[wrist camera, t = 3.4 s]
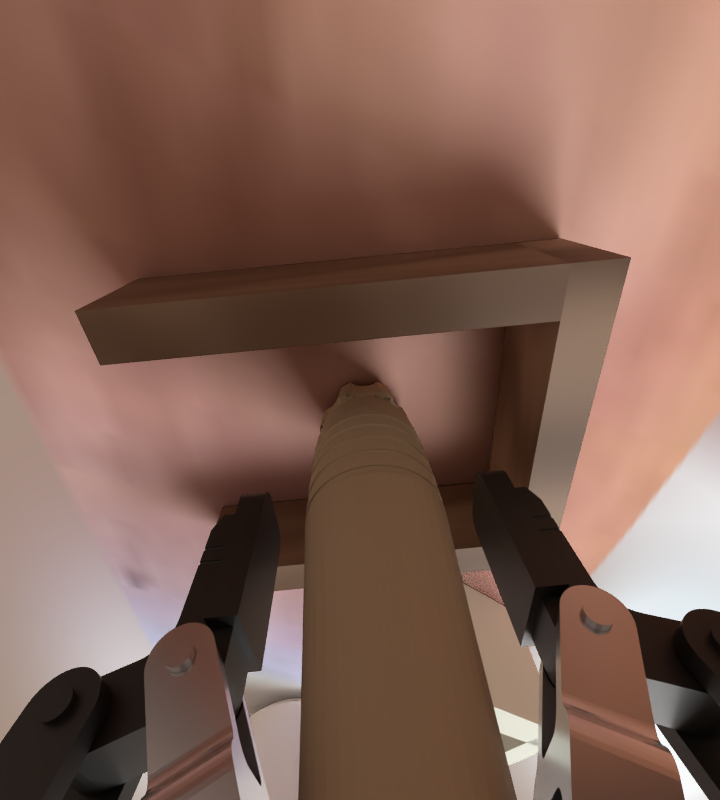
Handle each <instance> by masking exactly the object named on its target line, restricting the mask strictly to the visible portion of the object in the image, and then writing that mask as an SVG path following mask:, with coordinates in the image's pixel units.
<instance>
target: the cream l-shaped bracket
mask: <svg viewBox="0 0 720 800" xmlns="http://www.w3.org/2000/svg"><path fill="white" fill-rule="evenodd" d="M463 585H464V589H465V593H466V597H467V601H468V606H469V610H470V614H471V618H472V622H473V626H474V630H475V635H476V639H477V643H478V647H479V651H480V655H481V659H482V663H483V667H484V670H485V674H486V678H487V682H488V686H489V690H490V694H491V698H492V702H493V706H494V710H495V714H496V718H497V722H498V726H499V730H500V734H501V738H502V742H503V746H504V750H505V754H506V758H507V762H508V766H509V765H511V764H513V763H515V762H518V761H520V760H523V759H525V758H527V757H530V756H532V755H534V754H537V753H538V722H539V672H538V670H537V668H536V665H535V663H534V660H533V658H532V655H531V653H530V650H529V648H528V646H525V647H521V646H520V644H519V641H518V638H517V636H516V633H515V631H514V628H513V626H512V623H511V620H510V618H509V615H508V613H507V610H506V608H505V606H503V605H502V604H500V603H498V602H496V601H494V600H493V599H491V598H489V597H487V596H485V595H483V594H482V593H480V592H478V591H476V590H474V589H473V588H471V587H469V586H467V585H465V584H464V583H463Z"/></svg>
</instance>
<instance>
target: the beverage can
mask: <svg viewBox="0 0 720 800" xmlns="http://www.w3.org/2000/svg"><path fill="white" fill-rule="evenodd" d="M300 721H301V698H292V699H286V700H281V701H278V702H275V703H272V704H270V705H268V706H267V707H265V708H263V709H261V710H259V711H257V712H256V713H254V714H253V715H252V716H251V717H250V722H251V726H252V730H253V734H254V738H255V743H256V747H257V751H258V755H259V760H260V764H261V768H262V772H263V776H264V781H265V785H266V788H267V792H268V795H269V798H270V800H298V789H299V755H300Z"/></svg>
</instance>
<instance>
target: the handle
mask: <svg viewBox="0 0 720 800" xmlns="http://www.w3.org/2000/svg"><path fill="white" fill-rule="evenodd" d="M298 800H517V798H516V794H515V790H514V786H513V782H512V778H511V774H510V771H509V766H508V762H507V758H506V754H505V750H504V746H503V742H502V738H501V734H500V730H499V726H498V722H497V718H496V714H495V710H494V706H493V702H492V698H491V694H490V690H489V686H488V682H487V678H486V674H485V670H484V667H483V663H482V659H481V655H480V651H479V647H478V643H477V639H476V635H475V630H474V626H473V622H472V618H471V614H470V610H469V606H468V601H467V597H466V593H465V589H464V585H463V581H462V577H461V572H460V568H459V564H458V560H457V556H456V552H455V548H454V543H453V539H452V535H451V531H450V527H449V523H448V519H447V514H446V510H445V507H444V505H443V501H442V498H441V495H440V492H439V489H438V487H437V483H436V480H435V477H434V474H433V472H432V469H431V466H430V464H429V461H428V459H427V456H426V454H425V452H424V449H423V447H422V444H421V442H420V440H419V438H418V436H417V434H416V432H415V430H414V428H413V426H412V425H411V423H410V421H409V420H408V417H407V415H406V413H405V412H404V410H403V409H402V408H401V407H400V406H398V405H396V404H395V403H394V401H393V397H392V395H391V392H390V390H389V389H388V387H387V386H386V385H384V384H382V383H379V382H375V383H374V384H372V385H366V386H359V385H354V384H353V383H348V384H346V385H344V386H342V387H341V388H340V391H339V396H338V398H337V400H336V402H335V403H334V404H333V406H332V407H330V408H328V409H326V411H325V413H324V415H323V418H322V423H321V427H320V435H319V438H318V442H317V446H316V450H315V455H314V460H313V466H312V472H311V478H310V485H309V492H308V502H307V511H306V521H305V555H304V604H303V652H302V686H301V721H300V755H299V789H298Z"/></svg>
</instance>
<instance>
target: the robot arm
mask: <svg viewBox="0 0 720 800" xmlns="http://www.w3.org/2000/svg"><path fill="white" fill-rule="evenodd" d="M472 515H473V522H474V527H475V530H476V533H477V536H478V538H479V541H480V543H481V546H482V549H483V551H484V554H485V556H486V559H487V561H488V564H489V567H490V569H491V572H492V574H493V577H494V579H495V582H496V584H497V587H498V590H499V592H500V595H501V597H502V600H503V602H504V605H505V608H506V610H507V613H508V615H509V618H510V620H511V623H512V626H513V628H514V631H515V633H516V636H517V638H518V641H519V644H520V646H521V647H525V646H536V649H537V651H538V654H539V656H540V658H541V664H540V674H539V722H538V762H537V772H536V779H535V787H534V797H533V800H685V799H684V794H683V789H682V784H681V780H680V775H679V772H678V769H677V765H676V763H675V760H674V758H673V756H672V754H671V752H670V751H669V749H668V748H666V747H665V746H663V745H662V744H661V743H660V741H659V739H658V737H657V733H656V730H655V725H654V724H656V725H657V726H658V728H659V729H660V731H661V732H662V733H663V735H664V736H665V738H666V739H667V741H668V742H669V743H670V745H671V746H672V748H673V749H674V750H675V752H676V753H677V755H678V756H679V758H680V759H681V761H682V762H683V763H684V765H685V766H686V767H687V769H688V770H689V772H690V773H691V775H692V776H693V778H694V779H695V780H696V782H697V783H698V785H699V786H700V788H701V789H702V790H703V792H704V793H705V795H706V796H707V798H708V799H709V800H720V612H717V611H714V610H708V609H696V610H693V611H690V612H688V613H687V614H686V615H685V617H684V618H683V620H682V621H676V620H672V619H667V618H662V617H657V616H653V615H648V614H643V613H639V612H635V611H633V610H630V609H627V608H626V607H625V606H624V605H623V604H622V603H621V602H620V601H619V600H618V599H617V598H615V597H614V596H613V595H611V594H609V593H608V592H606V591H604V590H602V589H599V588H598V587H597V586H596V584H595V583H594V582H593V580H592V579H591V577H590V576H589V574H588V572H587V571H586V569H585V568H584V566H583V565H582V563H581V561H580V560H579V558H578V557H577V555H576V553H575V552H574V550H573V549H572V547H571V546H570V544H569V542H568V541H567V539H566V538H565V536H564V535H563V533H562V531H560V530H559V527H558V525H557V523H556V522H555V520H554V519H553V518H552V517H551V514H550V512H549V511H548V509H547V508H546V506H545V504H544V503H543V501H542V500H541V499H540V498H539V497H538V496H537V495H535V494H534V493H533V492H532V491H530V490H529V489H528V488H527V487H516V488H515V487H514V485H513V484H512V482H511V480H510V478H509V477H508V475H507V473H506V472H505V471H504V470H499V471H489V472H479V473H477V474H476V477H475V486H474V497H473V508H472ZM280 546H281V537H280V529H279V525H278V521H277V517H276V514H275V510H274V506H273V503H272V499H271V496H270V494H269V493H268V492H265V493H255V494H245V495H242V496H241V497H240V500H239V503H238V506H237V510H236V513H235V514H230V515H224V516H223V517H222V518H221V519H220V521H219V522H218V523H217V524H216V525H215V527H214V528H213V529H212V530H211V533H210V536H209V538H208V541H207V544H206V547H205V551H204V552H203V555H202V558H201V561H200V565H199V566H198V569H197V572H196V574H195V577H194V580H193V583H192V585H191V588H190V591H189V594H188V597H187V599H186V602H185V605H184V608H183V610H182V613H181V616H180V619H179V621H178V623H177V626H176V627H175V629H173V630H171V631H170V632H168V633H167V634H166V635H165V636H164V637H162V638H161V639H160V640H159V642H158V643H157V644H156V645H155V647H154V648H153V649H152V651H151V653H150V655H148V656H146V657H145V658H143V659H141V660H139V661H137V662H134V663H132V664H129V665H127V666H125V667H122V668H120V669H118V670H115V671H113V672H111V673H109V674H106V675H104V676H102V677H100V676H99V674H98V673H97V672H96V671H95V670H93V669H91V668H88V667H78V668H74V669H71V670H68V671H66V672H64V673H62V674H60V675H58V676H57V677H55V678H54V679H52V680H51V681H50V682H49V683H47V684H46V685H45V686H44V687H43V688H41V689H40V690H39V692H38V693H37V694H36V695H35V696H34V697H33V698H32V699H31V701H30V702H29V703H28V705H27V706H26V707H25V709H24V710H23V712H22V713H21V715H20V716H19V717H18V719H17V720H16V722H15V723H14V724H13V726H12V727H11V729H10V730H9V732H8V733H7V734H6V736H5V737H4V739H3V740H2V742H1V743H0V800H131V799H132V797H133V795H134V792H135V790H136V788H137V785H138V783H139V781H140V778H141V776H142V774H143V773H145V772H147V771H148V786H147V792H146V794H145V796H144V797H143V798H141V800H270V798H269V795H268V792H267V788H266V785H265V781H264V776H263V772H262V768H261V764H260V760H259V755H258V751H257V747H256V743H255V738H254V734H253V730H252V726H251V722H250V717H249V713H248V709H247V705H246V701H245V697H244V688H245V683H246V678H247V672H255V671H261V669H262V663H263V656H264V650H265V644H266V637H267V631H268V624H269V618H270V612H271V605H272V599H273V593H274V586H275V580H276V573H277V567H278V561H279V554H280Z"/></svg>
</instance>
